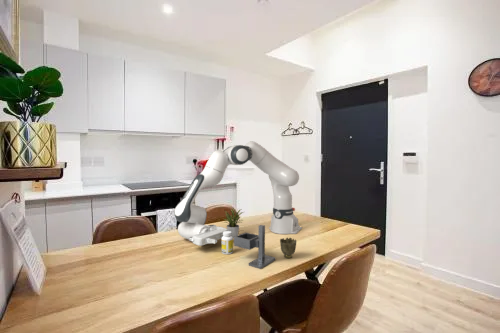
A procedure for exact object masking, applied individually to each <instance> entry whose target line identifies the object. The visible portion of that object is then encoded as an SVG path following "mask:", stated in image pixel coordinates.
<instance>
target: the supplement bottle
mask: <svg viewBox="0 0 500 333" xmlns="http://www.w3.org/2000/svg"><path fill="white" fill-rule="evenodd" d="M233 253H234V238H233V237H232V236H231V231H224V232H223V237H222V238H221V254H223V255H231V254H233Z"/></svg>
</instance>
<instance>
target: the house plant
mask: <svg viewBox="0 0 500 333" xmlns="http://www.w3.org/2000/svg"><path fill="white" fill-rule="evenodd" d="M241 210H242V208H241V209H239V210H238V211H237V212H236V213H235V212H234V210H233V209H230V212H231V214H229V212H228V211H226V210H224V212H225V213H224V214H225V218H224V219H223V220H224V221H225V223H227V225H226V229H228V231H231V236H232V237H233V239H234V237H235V236H238V235H239V230H240V225H239V224H238V223H243V221H244V220H243V219H240V218H241V214H244V211H243V212H242V211H241Z"/></svg>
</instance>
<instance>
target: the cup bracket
mask: <svg viewBox="0 0 500 333" xmlns="http://www.w3.org/2000/svg"><path fill="white" fill-rule="evenodd" d="M265 243H266V225H264V224H260V225H258V234H255V233H254V234H253V233H250V232H244V233H243V232H242V233H241V234H238V236H235V237H234V238H233V247H238V248H240V249H241V248H242V249H244V250H245V249H246V250H248V251H250V250H252V249H254V248H255V249H256V248H257V252H258V254H257V258H255V259H254V260H251V261H249V262H248V266H249V267H253V268H256V269H259V270H262V269H263V268H265V267H266V266H268V265H269V264H271V263H273V262H274V261H276V259H277V258H276V257H274V256H271V255H267V254H265V253H266V251H265V250H266V244H265Z"/></svg>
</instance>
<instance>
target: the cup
mask: <svg viewBox="0 0 500 333" xmlns="http://www.w3.org/2000/svg"><path fill="white" fill-rule="evenodd" d="M279 243H280V250H281V253H282V254H283V257H284V258H285V259H292V257H293V255H294V254H295V253H296V252H295V251H296V248H297V243H298V241H297V240H296V239H295V238H291V237H289V238H288V237H286V238H280V239H279Z"/></svg>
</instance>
